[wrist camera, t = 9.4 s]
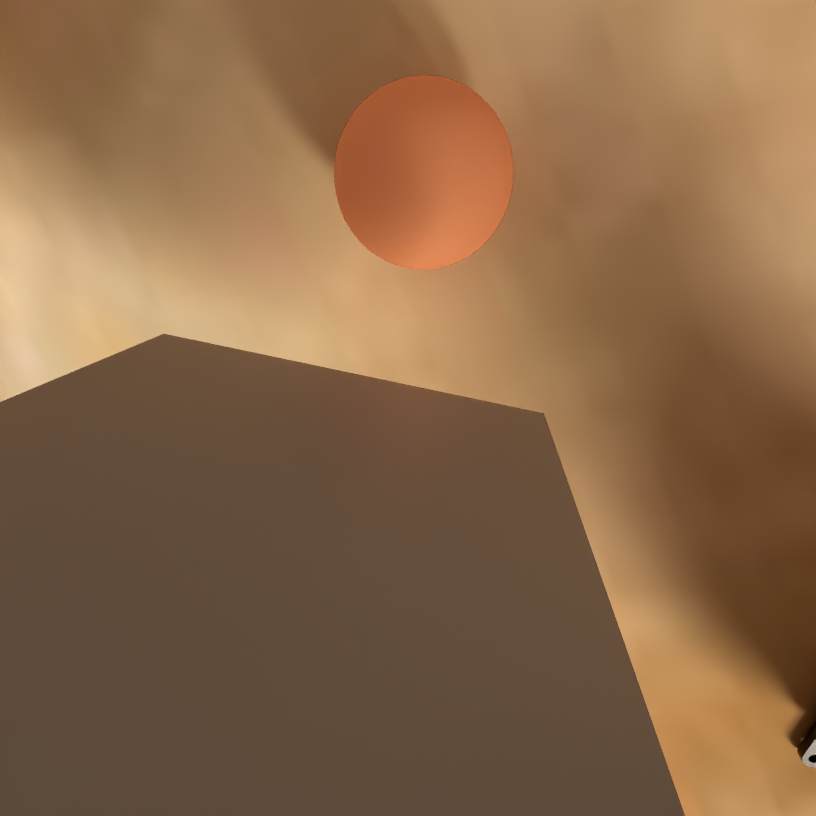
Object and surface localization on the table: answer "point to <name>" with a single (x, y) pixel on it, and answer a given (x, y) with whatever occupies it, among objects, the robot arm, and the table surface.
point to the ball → (423, 172)
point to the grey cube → (301, 602)
